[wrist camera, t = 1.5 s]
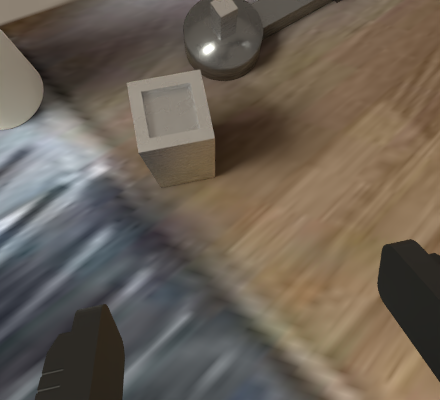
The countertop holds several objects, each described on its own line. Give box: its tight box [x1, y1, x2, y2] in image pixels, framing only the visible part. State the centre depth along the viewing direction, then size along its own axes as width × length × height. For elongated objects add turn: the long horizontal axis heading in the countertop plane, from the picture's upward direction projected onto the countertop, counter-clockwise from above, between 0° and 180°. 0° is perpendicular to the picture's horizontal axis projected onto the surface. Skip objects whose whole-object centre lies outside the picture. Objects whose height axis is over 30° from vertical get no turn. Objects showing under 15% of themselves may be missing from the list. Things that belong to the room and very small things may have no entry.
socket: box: [127, 69, 215, 188], centre depth 28 cm, size 5×5×10 cm
